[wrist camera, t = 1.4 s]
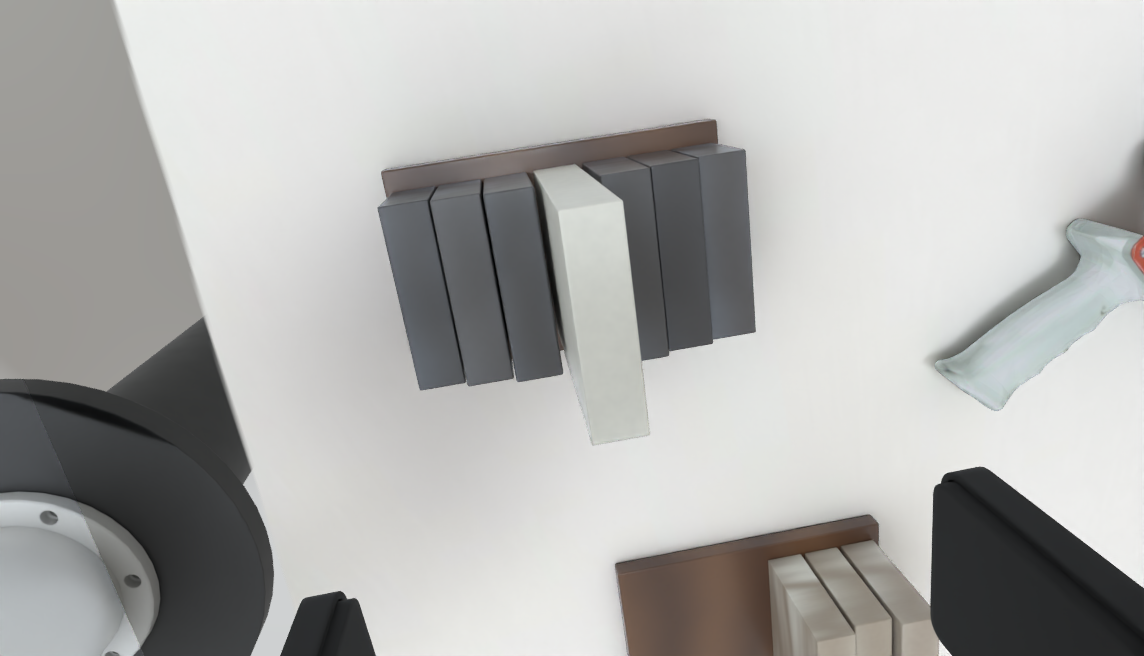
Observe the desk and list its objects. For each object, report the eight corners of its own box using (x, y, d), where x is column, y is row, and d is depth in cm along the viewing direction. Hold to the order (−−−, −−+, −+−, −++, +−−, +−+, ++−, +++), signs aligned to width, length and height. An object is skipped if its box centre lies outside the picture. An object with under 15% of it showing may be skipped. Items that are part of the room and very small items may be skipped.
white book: (558, 332, 35) (592, 446, 23) (533, 170, 32) (557, 210, 21) (597, 325, 35) (650, 435, 24) (575, 163, 32) (623, 200, 21)
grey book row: (428, 366, 36) (415, 423, 29) (383, 169, 32) (358, 186, 26) (724, 315, 37) (772, 360, 30) (710, 119, 33) (760, 123, 27)
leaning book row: (633, 694, 44) (661, 808, 37) (614, 563, 41) (641, 661, 34) (870, 645, 45) (941, 748, 38) (870, 513, 42) (949, 599, 35)
